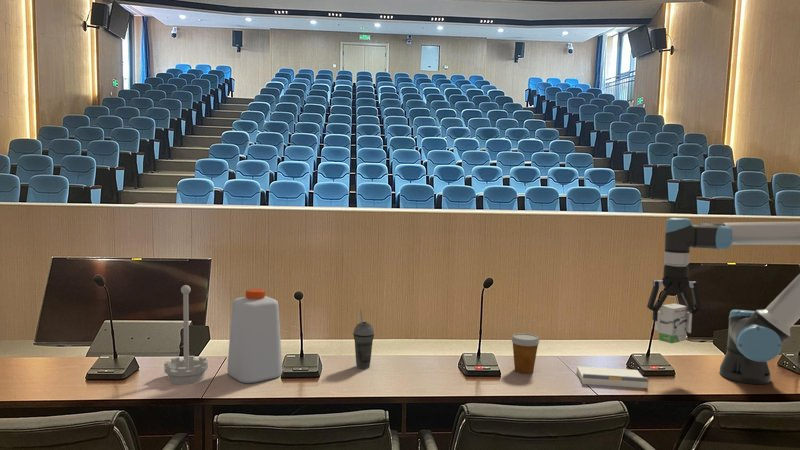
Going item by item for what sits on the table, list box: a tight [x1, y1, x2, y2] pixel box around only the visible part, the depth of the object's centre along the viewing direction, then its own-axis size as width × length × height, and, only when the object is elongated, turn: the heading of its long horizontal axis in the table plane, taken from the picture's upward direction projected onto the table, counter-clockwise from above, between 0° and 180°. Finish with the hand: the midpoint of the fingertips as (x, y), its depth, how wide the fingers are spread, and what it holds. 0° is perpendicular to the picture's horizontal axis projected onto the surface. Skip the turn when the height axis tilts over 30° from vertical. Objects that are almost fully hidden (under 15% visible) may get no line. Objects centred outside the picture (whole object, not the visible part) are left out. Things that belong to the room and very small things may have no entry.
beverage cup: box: [352, 309, 375, 370], centre depth 205 cm, size 7×7×20 cm
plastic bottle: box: [227, 288, 283, 384], centre depth 194 cm, size 15×15×28 cm
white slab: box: [576, 365, 649, 389], centre depth 199 cm, size 20×12×3 cm, turn 83°
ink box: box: [658, 303, 688, 344], centre depth 200 cm, size 9×5×12 cm, turn 123°
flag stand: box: [163, 284, 209, 385], centre depth 189 cm, size 13×13×30 cm
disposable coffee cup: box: [511, 332, 540, 374], centre depth 206 cm, size 10×10×12 cm
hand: (672, 331), depth 200 cm, fingers closed on ink box, 9 cm apart
